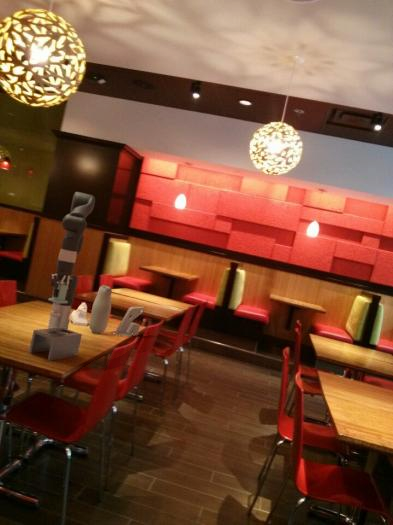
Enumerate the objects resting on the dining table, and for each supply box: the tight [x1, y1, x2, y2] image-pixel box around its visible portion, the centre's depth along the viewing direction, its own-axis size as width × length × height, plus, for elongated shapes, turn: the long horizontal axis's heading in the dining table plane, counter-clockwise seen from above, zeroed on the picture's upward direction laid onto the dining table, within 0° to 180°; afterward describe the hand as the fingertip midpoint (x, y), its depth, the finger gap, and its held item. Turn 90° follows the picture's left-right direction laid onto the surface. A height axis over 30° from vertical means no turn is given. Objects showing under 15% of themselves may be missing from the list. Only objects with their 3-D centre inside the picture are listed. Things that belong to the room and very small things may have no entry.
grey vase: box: [88, 284, 112, 334], centre depth 256 cm, size 10×10×28 cm
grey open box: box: [28, 327, 83, 362], centre depth 197 cm, size 18×12×10 cm, turn 156°
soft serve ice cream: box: [69, 302, 90, 327], centre depth 271 cm, size 12×15×14 cm
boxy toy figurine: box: [48, 284, 68, 317], centre depth 199 cm, size 6×6×14 cm
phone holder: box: [111, 306, 145, 337], centre depth 271 cm, size 17×10×18 cm, turn 155°
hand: (58, 296), depth 199 cm, fingers closed on boxy toy figurine, 4 cm apart
